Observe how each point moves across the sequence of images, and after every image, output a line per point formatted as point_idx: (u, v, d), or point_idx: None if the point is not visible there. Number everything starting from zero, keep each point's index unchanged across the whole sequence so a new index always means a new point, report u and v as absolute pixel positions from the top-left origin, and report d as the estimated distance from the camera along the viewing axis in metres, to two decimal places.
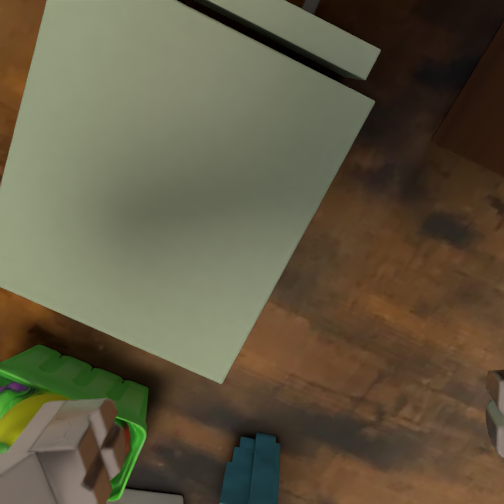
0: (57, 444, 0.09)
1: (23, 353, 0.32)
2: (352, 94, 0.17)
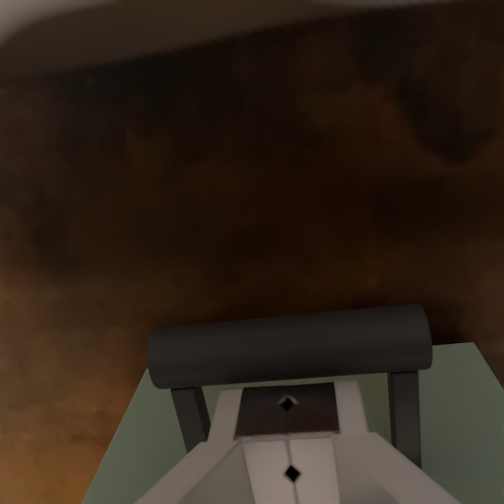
0: (261, 432, 0.08)
1: None
2: None
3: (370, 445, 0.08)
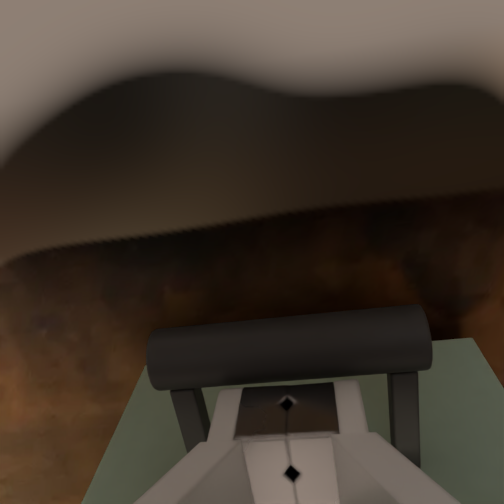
0: (260, 432, 0.08)
1: None
2: None
3: (370, 445, 0.08)
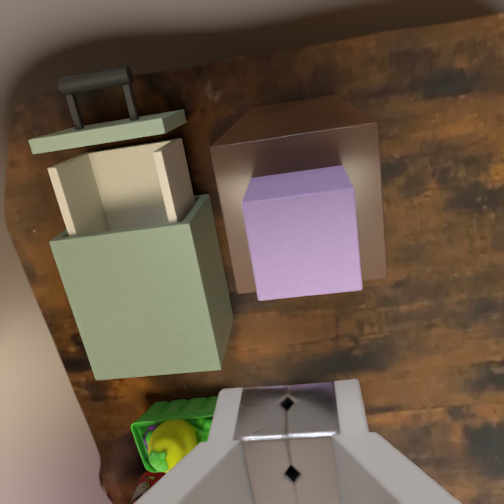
0: (261, 432, 0.08)
1: (147, 410, 0.56)
2: (179, 226, 0.38)
3: (370, 445, 0.08)
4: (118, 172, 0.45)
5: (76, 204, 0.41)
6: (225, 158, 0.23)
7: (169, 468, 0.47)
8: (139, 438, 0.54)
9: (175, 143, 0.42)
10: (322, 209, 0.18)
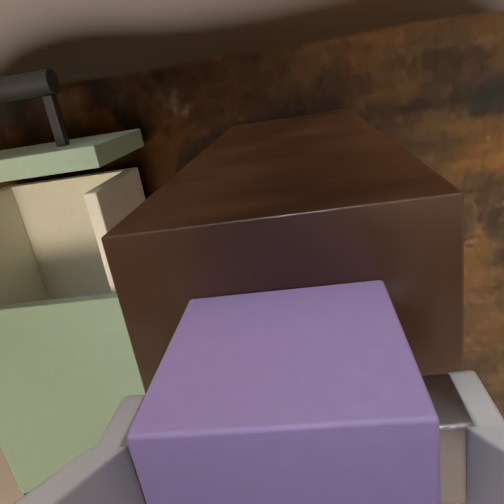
0: None
1: None
2: None
3: None
4: (53, 212, 0.33)
5: None
6: (134, 260, 0.11)
7: None
8: None
9: (125, 176, 0.30)
10: (345, 464, 0.07)
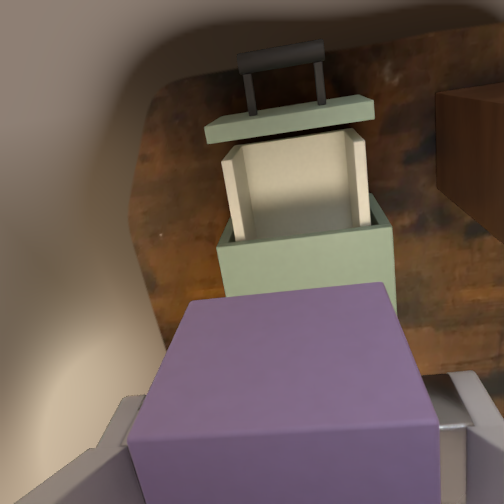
0: None
1: None
2: (379, 230, 0.32)
3: None
4: (275, 167, 0.39)
5: (242, 203, 0.35)
6: None
7: None
8: None
9: (356, 133, 0.36)
10: (345, 467, 0.07)
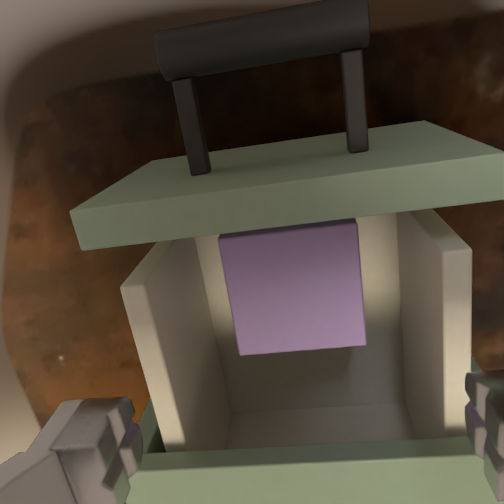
0: (77, 443, 0.09)
1: None
2: None
3: None
4: None
5: (181, 359, 0.16)
6: None
7: None
8: None
9: None
10: (317, 248, 0.15)
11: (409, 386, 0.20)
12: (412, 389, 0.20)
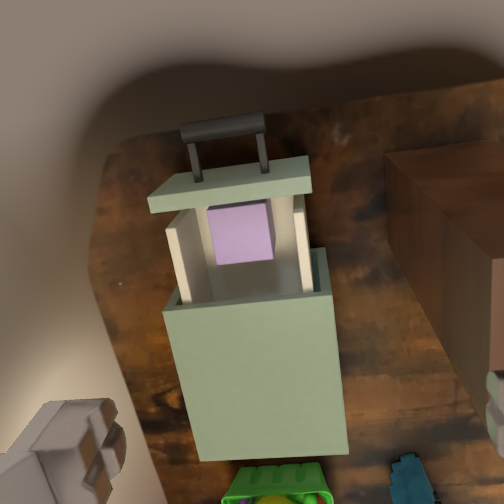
0: (57, 444, 0.09)
1: (236, 478, 0.50)
2: (319, 298, 0.33)
3: None
4: None
5: (190, 266, 0.36)
6: None
7: None
8: None
9: (303, 196, 0.36)
10: (249, 214, 0.34)
11: None
12: None
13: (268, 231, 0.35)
